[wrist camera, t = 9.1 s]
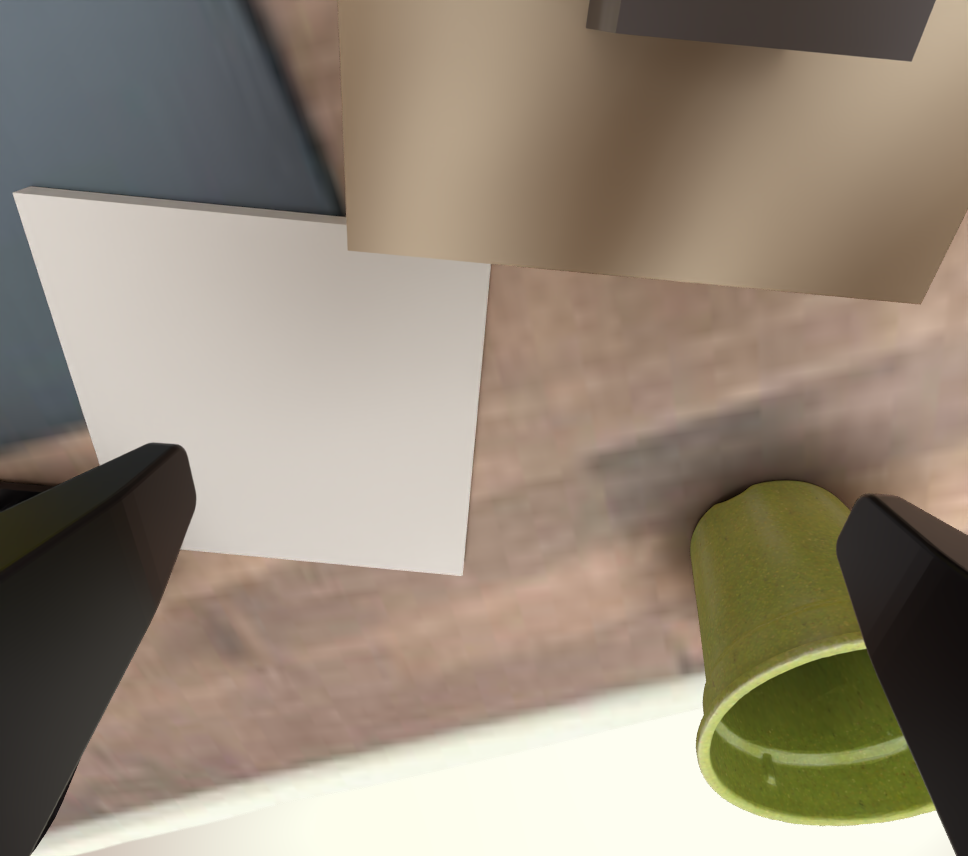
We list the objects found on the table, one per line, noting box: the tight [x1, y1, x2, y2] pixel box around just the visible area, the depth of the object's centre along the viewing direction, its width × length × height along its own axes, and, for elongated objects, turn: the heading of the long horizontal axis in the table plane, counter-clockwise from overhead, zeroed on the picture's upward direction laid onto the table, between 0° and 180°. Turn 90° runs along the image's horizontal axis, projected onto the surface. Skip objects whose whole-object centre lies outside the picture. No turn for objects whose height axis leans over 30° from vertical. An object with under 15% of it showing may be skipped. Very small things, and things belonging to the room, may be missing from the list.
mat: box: [13, 186, 491, 576], centre depth 22 cm, size 14×14×1 cm
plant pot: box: [690, 480, 936, 826], centre depth 21 cm, size 9×9×9 cm
